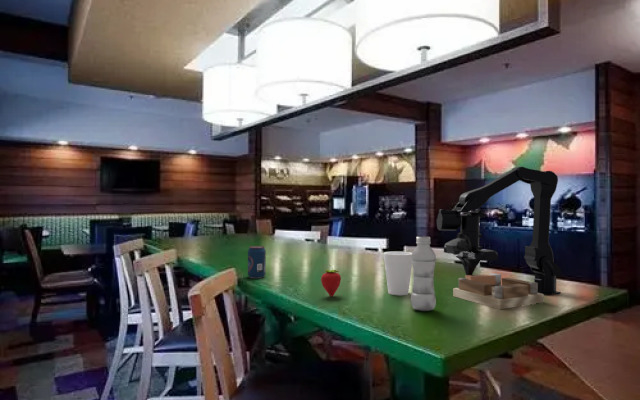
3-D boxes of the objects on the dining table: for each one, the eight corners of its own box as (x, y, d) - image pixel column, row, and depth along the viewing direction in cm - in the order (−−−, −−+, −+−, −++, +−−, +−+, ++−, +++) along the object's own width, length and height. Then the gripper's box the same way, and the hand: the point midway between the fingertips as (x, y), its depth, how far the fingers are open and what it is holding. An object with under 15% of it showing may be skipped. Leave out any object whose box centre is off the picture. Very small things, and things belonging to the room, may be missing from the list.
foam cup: (391, 297, 131) (391, 255, 131) (379, 291, 140) (379, 252, 140) (418, 295, 134) (418, 254, 134) (405, 289, 143) (405, 251, 143)
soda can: (245, 276, 167) (245, 246, 168) (261, 275, 171) (262, 245, 171) (251, 279, 161) (251, 247, 161) (268, 277, 165) (268, 247, 165)
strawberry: (317, 297, 130) (317, 265, 130) (328, 293, 137) (328, 262, 137) (334, 299, 127) (334, 266, 127) (344, 295, 134) (344, 263, 134)
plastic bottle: (417, 306, 120) (417, 235, 120) (439, 310, 115) (439, 237, 115) (406, 310, 115) (406, 237, 115) (429, 314, 110) (429, 238, 110)
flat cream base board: (494, 291, 140) (494, 274, 140) (543, 302, 124) (543, 283, 124) (453, 296, 133) (453, 278, 133) (499, 309, 116) (499, 288, 116)
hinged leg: (496, 283, 140) (496, 273, 140) (503, 285, 136) (503, 275, 136) (464, 284, 137) (464, 274, 137) (471, 286, 133) (471, 276, 133)
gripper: (431, 228, 143) (430, 274, 143) (471, 234, 126) (470, 286, 126) (457, 227, 147) (456, 272, 148) (499, 233, 130) (498, 283, 131)
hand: (468, 278), depth 138 cm, fingers closed
